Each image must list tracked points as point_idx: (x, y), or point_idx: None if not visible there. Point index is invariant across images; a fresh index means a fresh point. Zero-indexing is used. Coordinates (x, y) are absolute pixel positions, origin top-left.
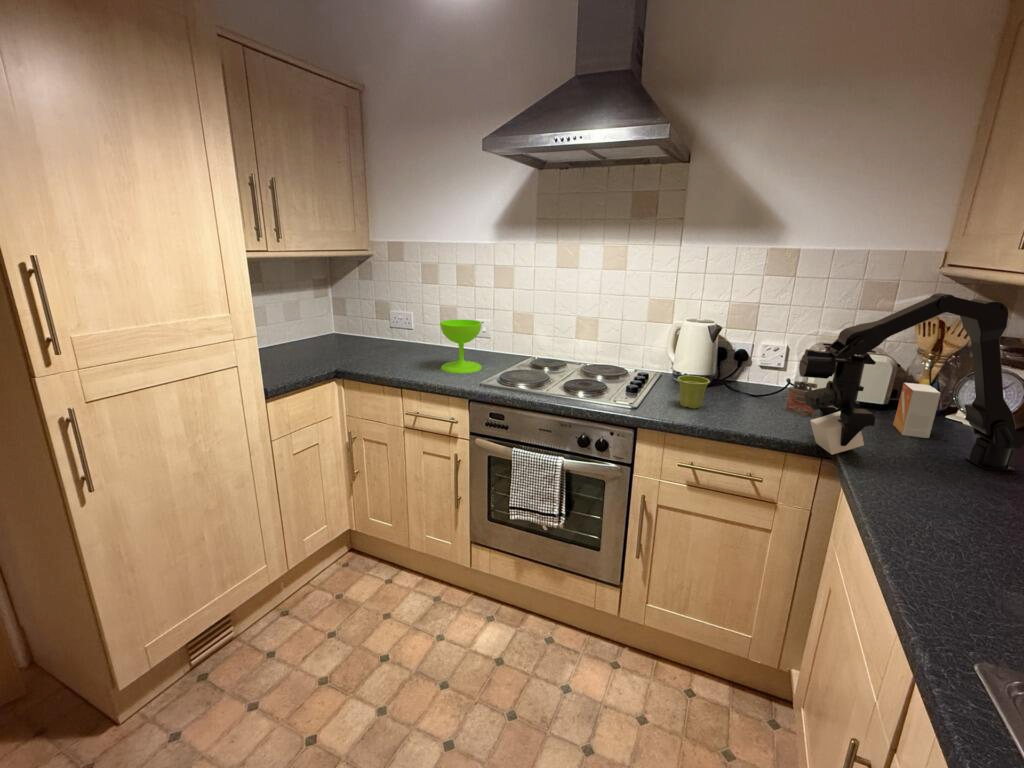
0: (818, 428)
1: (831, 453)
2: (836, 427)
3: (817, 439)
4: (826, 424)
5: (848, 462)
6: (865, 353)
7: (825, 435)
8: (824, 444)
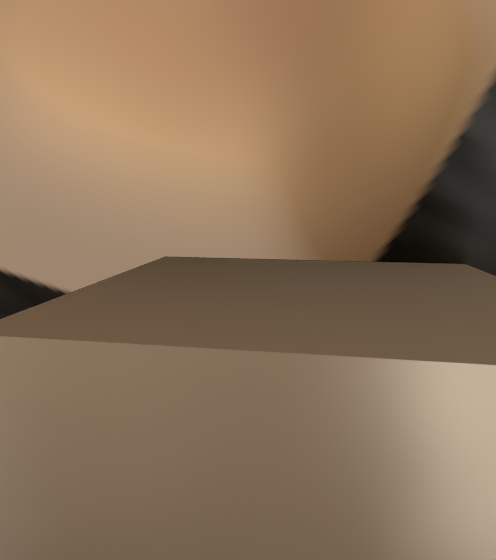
0: (313, 329)
1: (160, 259)
2: (13, 535)
3: (416, 274)
4: (240, 498)
5: (48, 300)
6: None
7: (100, 303)
8: (251, 269)
